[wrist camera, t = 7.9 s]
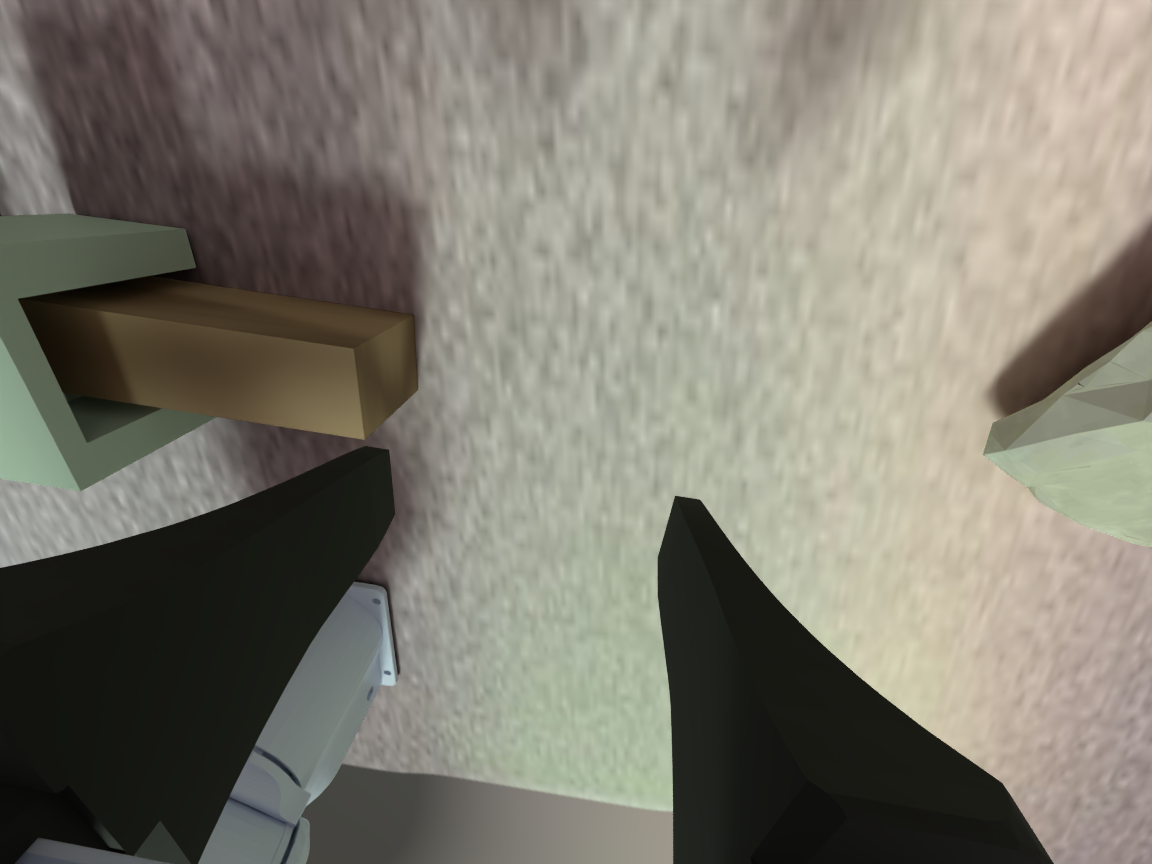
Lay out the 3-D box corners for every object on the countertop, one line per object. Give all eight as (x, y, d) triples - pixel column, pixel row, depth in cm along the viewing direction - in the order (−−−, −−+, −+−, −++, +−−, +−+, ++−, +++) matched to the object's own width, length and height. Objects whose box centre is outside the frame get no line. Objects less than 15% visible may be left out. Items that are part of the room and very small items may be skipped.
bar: (419, 388, 21) (364, 439, 17) (173, 351, 21) (55, 391, 17) (415, 313, 19) (353, 348, 15) (148, 274, 20) (11, 297, 15)
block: (235, 406, 22) (80, 491, 16) (138, 392, 22) (-53, 470, 16) (185, 228, 18) (-46, 247, 12) (68, 213, 18) (-219, 224, 12)
